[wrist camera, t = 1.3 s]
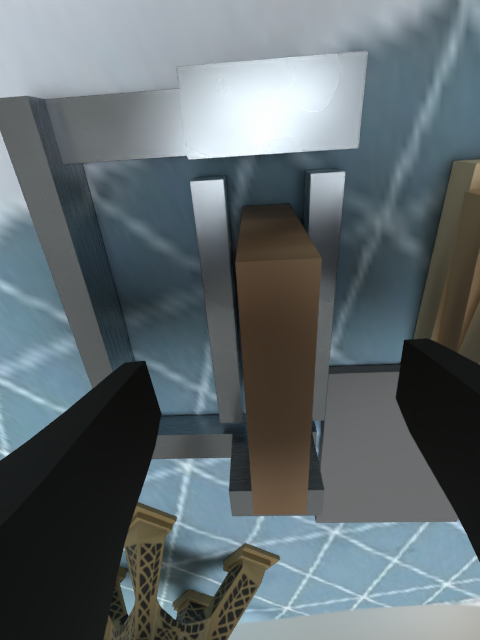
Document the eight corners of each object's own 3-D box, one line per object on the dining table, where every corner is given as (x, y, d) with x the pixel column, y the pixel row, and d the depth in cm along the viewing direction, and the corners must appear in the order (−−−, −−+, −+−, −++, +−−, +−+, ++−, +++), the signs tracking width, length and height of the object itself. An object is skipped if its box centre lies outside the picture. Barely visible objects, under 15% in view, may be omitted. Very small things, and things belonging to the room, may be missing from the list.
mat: (515, 360, 14) (523, 367, 14) (451, 512, 19) (456, 521, 19) (326, 367, 14) (328, 373, 14) (314, 514, 20) (316, 522, 19)
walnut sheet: (289, 203, 11) (321, 258, 6) (287, 384, 15) (306, 514, 10) (242, 205, 11) (235, 262, 6) (252, 385, 15) (253, 514, 10)
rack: (342, 81, 10) (395, 48, 6) (316, 435, 17) (334, 515, 13) (34, 106, 10) (-81, 87, 7) (136, 439, 17) (106, 517, 14)
